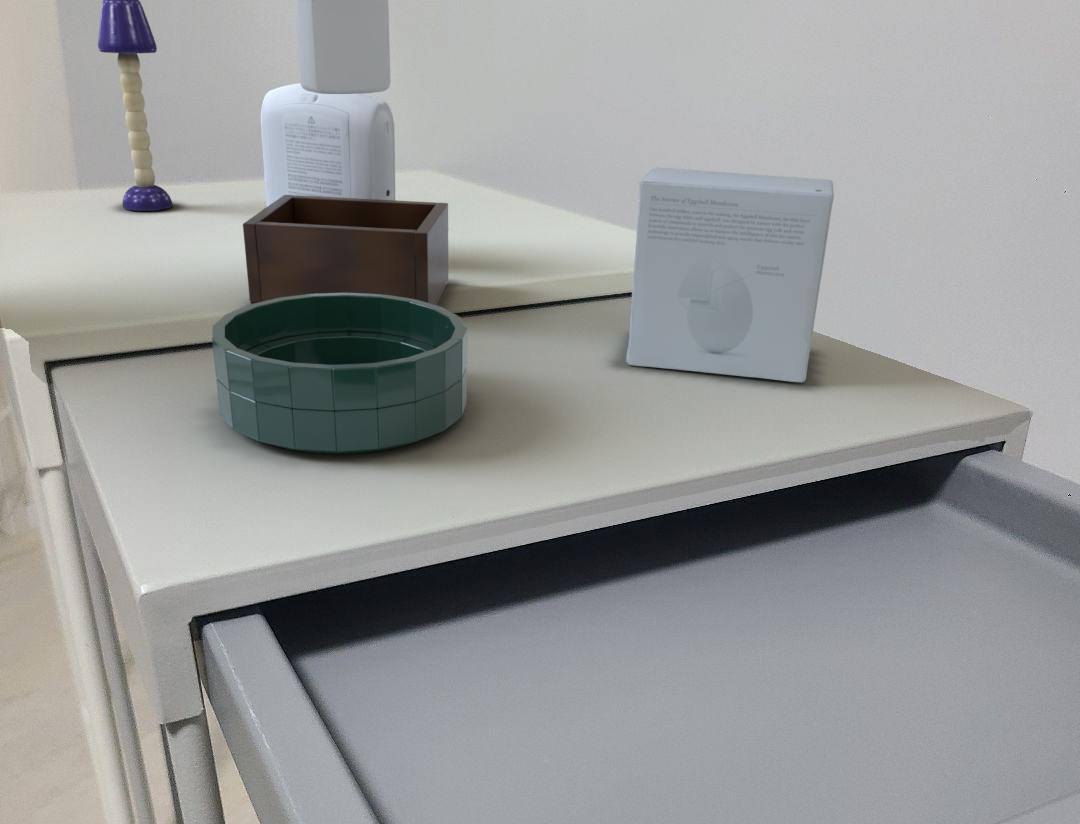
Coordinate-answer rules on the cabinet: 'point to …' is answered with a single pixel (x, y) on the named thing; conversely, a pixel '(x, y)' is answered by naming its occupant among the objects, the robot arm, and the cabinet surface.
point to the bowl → (340, 371)
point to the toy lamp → (133, 94)
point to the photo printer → (327, 145)
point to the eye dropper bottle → (343, 46)
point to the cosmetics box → (728, 272)
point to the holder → (347, 248)
